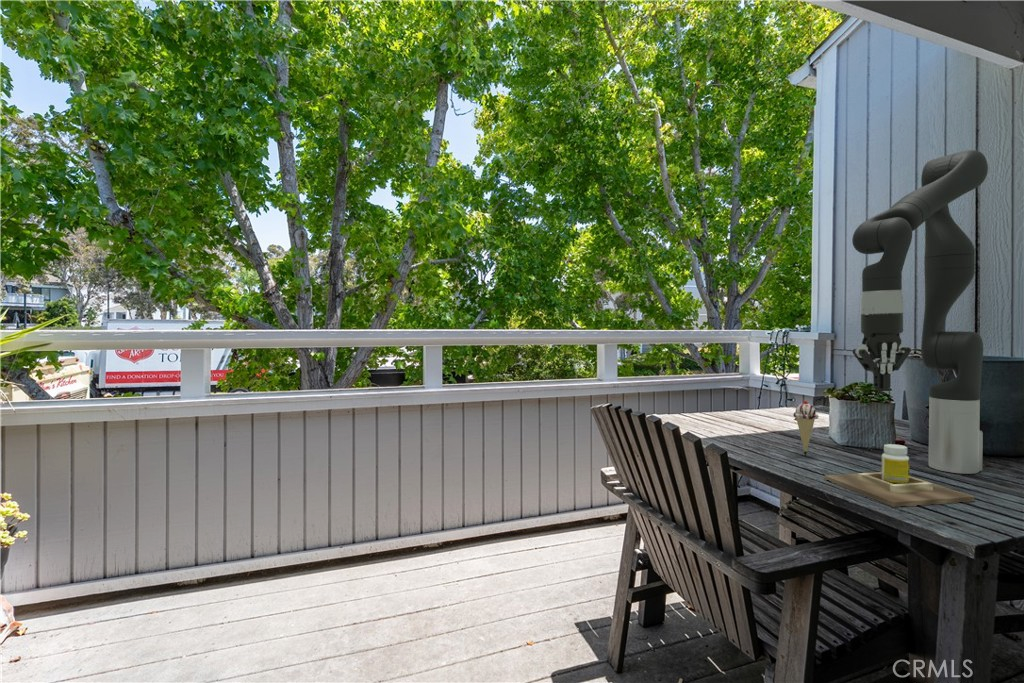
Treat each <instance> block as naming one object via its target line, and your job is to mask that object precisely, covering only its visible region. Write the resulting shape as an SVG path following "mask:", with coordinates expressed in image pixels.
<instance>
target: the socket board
mask: <svg viewBox="0 0 1024 683" xmlns="http://www.w3.org/2000/svg"><path fill="white" fill-rule="evenodd" d="M881 475H882V471H878V472H876V471H875V472H864V473H863V472H862V473H860V472H859V473H858V472H857V473H846V474H844V473H841V474H828V475H827V474H825V475H824V480H825V479H826V480H829V481H831V482H833V483H832V484H834V483H836V484H838V485H837V486H839V485H840V487H841V486H842V487H841V488H844V487H845V488H844V489H846V488H847V490H849V489H850V490H849V491H851V490H852V492H854V491H855V493H857V494H859V495H861V496H865V497H867V498H870V499H871V500H875V501H877V502H880V503H881V504H885V505H887V506H889V505H890V506H889V507H892V508H902V507H901V506H907V507H918V506H917V505H921V506H932V505H931V504H935V505H946V504H948V503H949V504H960V503H959V502H963V503H973V501H976V500H975V499H976V498H975V496H974V495H971V494H967V493H965V492H961V491H958V490H955V489H951V488H948V487H946V486H942V485H939V484H936V483H932V482H930V481H927V480H924V479H920V478H917V477H913V476H910V475H909V483H907V484H892V483H889V482H886V481H883V480H882V476H881ZM826 480H825V481H826ZM829 481H828V482H829ZM831 482H830V483H831ZM836 484H835V485H836ZM971 501H972V502H971Z"/></svg>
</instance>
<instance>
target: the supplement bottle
mask: <svg viewBox="0 0 1024 683" xmlns="http://www.w3.org/2000/svg"><path fill="white" fill-rule="evenodd" d="M881 472H882V475H881V476H882V480H883V481H886V482H889V483H892V484H907V483H909V476H910V457H909V456H908V447H907V446H905V445H901V444H895V443H893V444H891V443H886V444H884V445H883V453H882V454H881Z"/></svg>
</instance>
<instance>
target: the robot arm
mask: <svg viewBox="0 0 1024 683" xmlns="http://www.w3.org/2000/svg"><path fill="white" fill-rule="evenodd" d="M988 165H989V164H988V161H987V158H986V156H985V155H984V153H982V152H981V151H978V150H975V149H973V150H972V149H971V150H970V149H967V150H964V151H963V150H962V151H959V152H954V153H951V154H948V155H945V156H941V157H937V158H934V159H930V160H928V161H927V162H926V163H925V164H924V166H923V168H922V172H921V180H920V182H921V184H920V186H921V187H920V188H917V189H915V190H913V191H911V192H910V193H907V194H906V195H904V196H903V197H901V198H900V199H899V200H897V201H896V202H895V203H894V204H893V205H892V206H890V207H889V208H888V209H886V210H884V211H882V212H880V213H878V214H876V215H875V216H872V217H870V218H869V219H867V220H865V221H863V222H862V223H861V224H860V225H858V227H857V228H856V229H855V230H854V232H853V235H852V241H851V242H852V246H853V247H854V249H855V250H856V251H857V252H858V253H860V254H863V255H874V254H882V253H883V254H882V256H881V257H880V259H879V261H877V262H875V263H872V264H869V265H867V266H865V267H864V268H862V273H861V274H862V275H861V280H862V282H861V283H862V284H861V287H862V290H861V292H862V294H861V300H860V332H861V334H863V339H862V341H861V346H859V347H858V348H853V350H852V354H853V356H854V358H856V359H857V361H858V363H859V364H860V365H861V366H862V368H863V370H864V371H866V372H871V373H872V375H873V376H872V377H873V378H872V379H873V380H872V381H873V384H872V386H873V388H874V390H875V391H878V392H888V391H889V390H890V387H891V374H892V373H893V372H895V371H899V370H900V368H901V367H902V365H903V364H904V363H905V361H906V359H907V358H908V357H909V355H910V354H911V352H912V348H911V347H907V346H905V345H903V344H902V339H901V335H900V334H902V333H903V332H904V297H903V290H902V288H903V287H902V285H903V283H902V280H903V279H902V275H903V273H902V272H903V268H904V265H905V262H906V258H907V256H908V253H909V249H910V246H911V243H912V241H913V240H912V239H913V231H915V230H916V229H918V228H919V227H921V225H922V224H923V223H924V232H925V233H924V241H925V242H924V243H925V244H924V262H923V263H924V269H923V270H924V273H923V274H924V313H923V314H924V315H923V322H922V324H923V325H922V334H921V345H920V351H921V352H920V354H921V355H920V356H921V360H922V363H923V364H924V366H925V367H927V368H928V369H935V370H937V369H938V370H953V371H958V372H957V376H956V377H954V378H952V379H950V380H948V381H943V382H940V383H938V382H937V383H933V384H932V385H930V387H929V389H928V390H929V391H928V396H929V397H928V402H929V403H928V406H929V407H928V410H929V411H928V467H929V468H932V469H934V470H938V471H942V472H947V473H954V474H962V475H963V474H964V475H966V474H967V475H968V474H969V475H972V474H978V473H979V472H982V471H983V443H984V442H983V437H984V436H983V434H984V433H983V431H982V430H980V424H981V423H980V421H981V420H980V419H981V417H980V415H981V414H980V413H981V412H980V410H981V409H980V408H981V406H980V405H981V404H980V403H981V402H980V401H981V400H980V399H981V398H980V397H981V388H982V374H983V373H982V370H983V361H984V342H983V339H982V336H981V335H980V334H979V333H978V332H975V331H957V330H956V331H950V330H949V331H945V323H946V319H947V316H948V314H949V312H950V310H951V308H952V307H953V306H954V304H955V303H956V302H957V301H958V299H959V298H960V297H961V295H962V294H963V293H964V292H965V290H966V289H967V288H968V287H969V285H970V284H971V283H972V281H973V280H974V277H975V272H976V271H975V270H976V268H975V267H976V248H975V245H974V243H973V241H972V240H971V239H970V238H969V237H968V235H967V234H966V233H965V232H964V230H962V228H961V227H960V225H958V224H957V223H956V222H955V220H954V219H953V217H952V215H951V213H950V208H949V204H950V203H952V202H953V201H955V200H957V199H959V198H960V197H962V196H964V195H965V194H967V193H969V192H971V191H973V190H974V189H977V188H978V187H980V186H981V185H982V184H983V183H984V182H985V180H986V178H987V176H988V172H989V171H988V170H989V166H988Z"/></svg>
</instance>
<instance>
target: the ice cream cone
mask: <svg viewBox="0 0 1024 683" xmlns="http://www.w3.org/2000/svg"><path fill="white" fill-rule="evenodd" d="M796 405H797V404H796ZM816 411H817V410H816V408H815V407H814V406H813V405H812V404H810V403H809V402H808V401H807V400H804V401H803V402H802V403H800V404H798V405H797V406H796V408H795V412H793V417H794V418H796V422H797V427H798V430H799V431H798V432H799V435H800V440H801V443H802V448H803V453H804V457H805V456H807V453H808V449H809V445H810V440H811V438H812V437H811V436H812V432H813V428H814V424H815V420H817V419H819V414H817V413H816Z"/></svg>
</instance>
